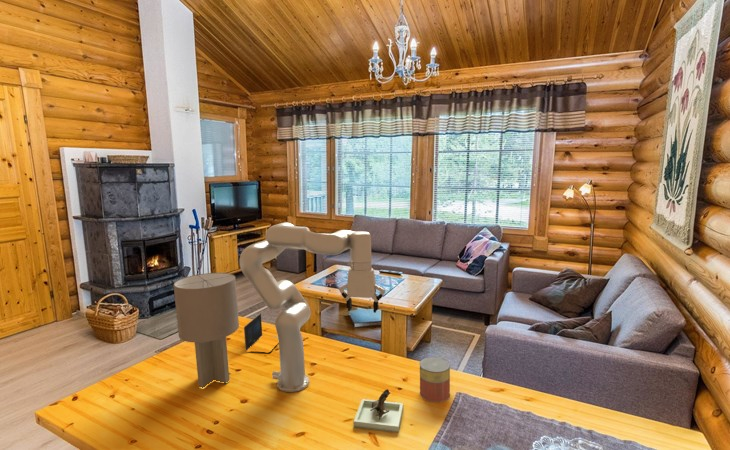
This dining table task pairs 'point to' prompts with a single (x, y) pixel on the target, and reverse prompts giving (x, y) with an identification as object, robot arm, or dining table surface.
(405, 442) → the dining table surface
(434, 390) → the canned food
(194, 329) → the lamp
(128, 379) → the dining table surface
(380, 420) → the tray
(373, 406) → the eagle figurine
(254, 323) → the laptop
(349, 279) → the robot arm
